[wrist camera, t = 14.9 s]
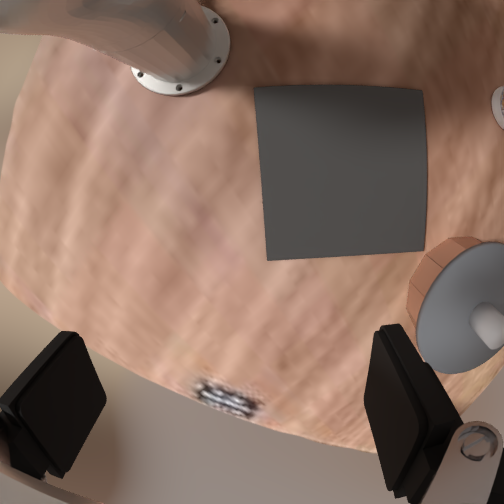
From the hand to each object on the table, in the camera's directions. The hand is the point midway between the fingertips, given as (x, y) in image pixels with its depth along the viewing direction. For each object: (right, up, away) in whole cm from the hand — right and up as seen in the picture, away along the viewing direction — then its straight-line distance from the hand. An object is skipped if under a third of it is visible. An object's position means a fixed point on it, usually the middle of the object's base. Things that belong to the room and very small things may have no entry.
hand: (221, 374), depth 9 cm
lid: (+30, -4, +24) cm, 39 cm away
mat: (+12, +13, +27) cm, 32 cm away
